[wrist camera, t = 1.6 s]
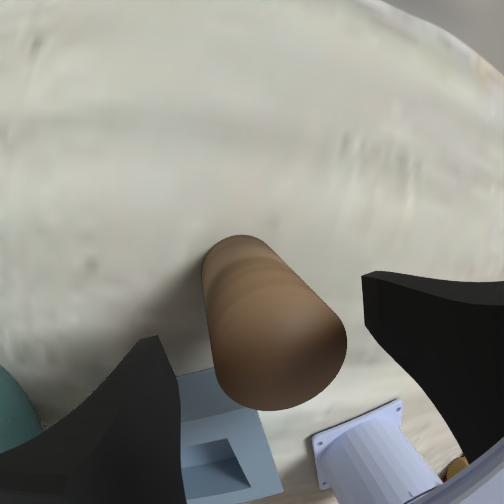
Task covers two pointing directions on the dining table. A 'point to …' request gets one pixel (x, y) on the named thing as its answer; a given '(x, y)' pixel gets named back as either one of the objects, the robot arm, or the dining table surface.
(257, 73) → the dining table surface
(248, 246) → the peg
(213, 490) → the socket
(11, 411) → the teal bowl
